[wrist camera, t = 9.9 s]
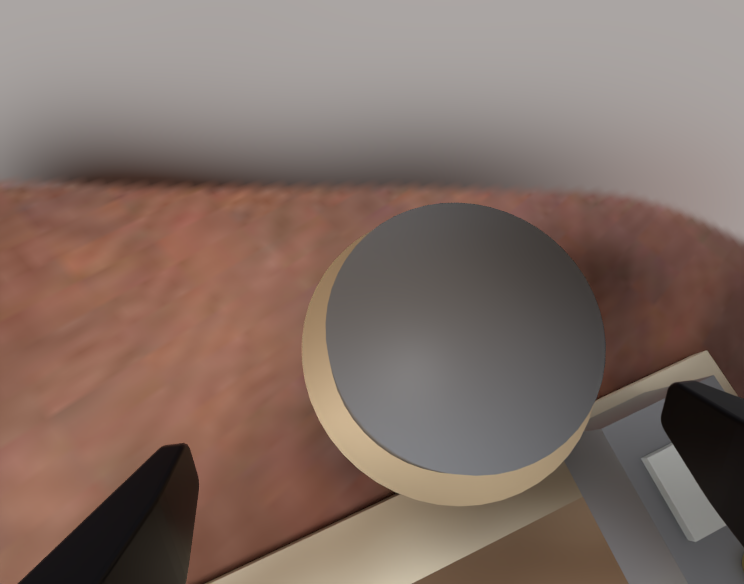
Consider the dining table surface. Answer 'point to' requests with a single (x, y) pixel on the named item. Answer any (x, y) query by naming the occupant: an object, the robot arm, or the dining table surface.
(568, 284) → the marker peg
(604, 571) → the plywood panel
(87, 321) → the dining table surface
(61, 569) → the robot arm
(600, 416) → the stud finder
